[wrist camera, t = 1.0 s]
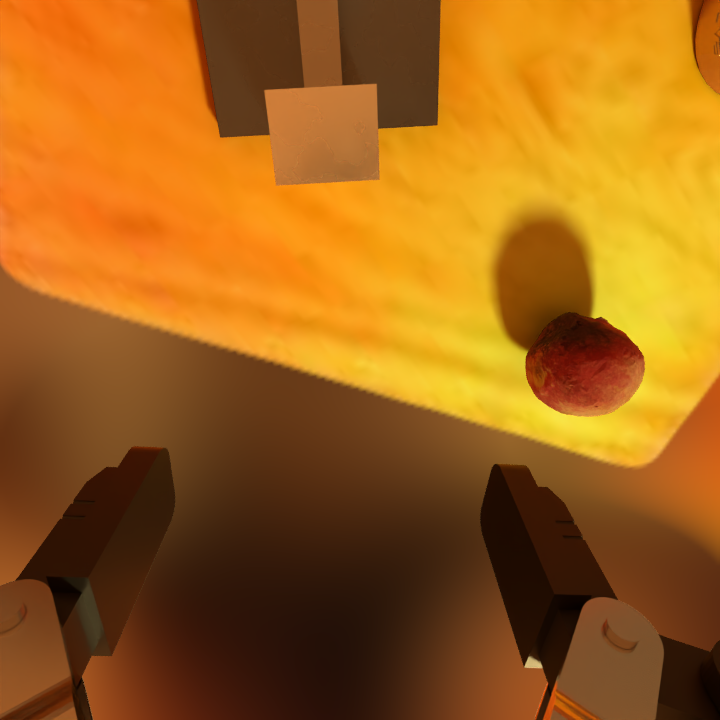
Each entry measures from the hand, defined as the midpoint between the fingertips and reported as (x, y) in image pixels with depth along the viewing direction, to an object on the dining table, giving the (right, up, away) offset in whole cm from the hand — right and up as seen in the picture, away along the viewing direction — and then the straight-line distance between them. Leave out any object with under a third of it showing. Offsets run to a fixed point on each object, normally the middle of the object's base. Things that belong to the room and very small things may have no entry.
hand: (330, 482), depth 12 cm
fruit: (+18, +5, +28) cm, 33 cm away
